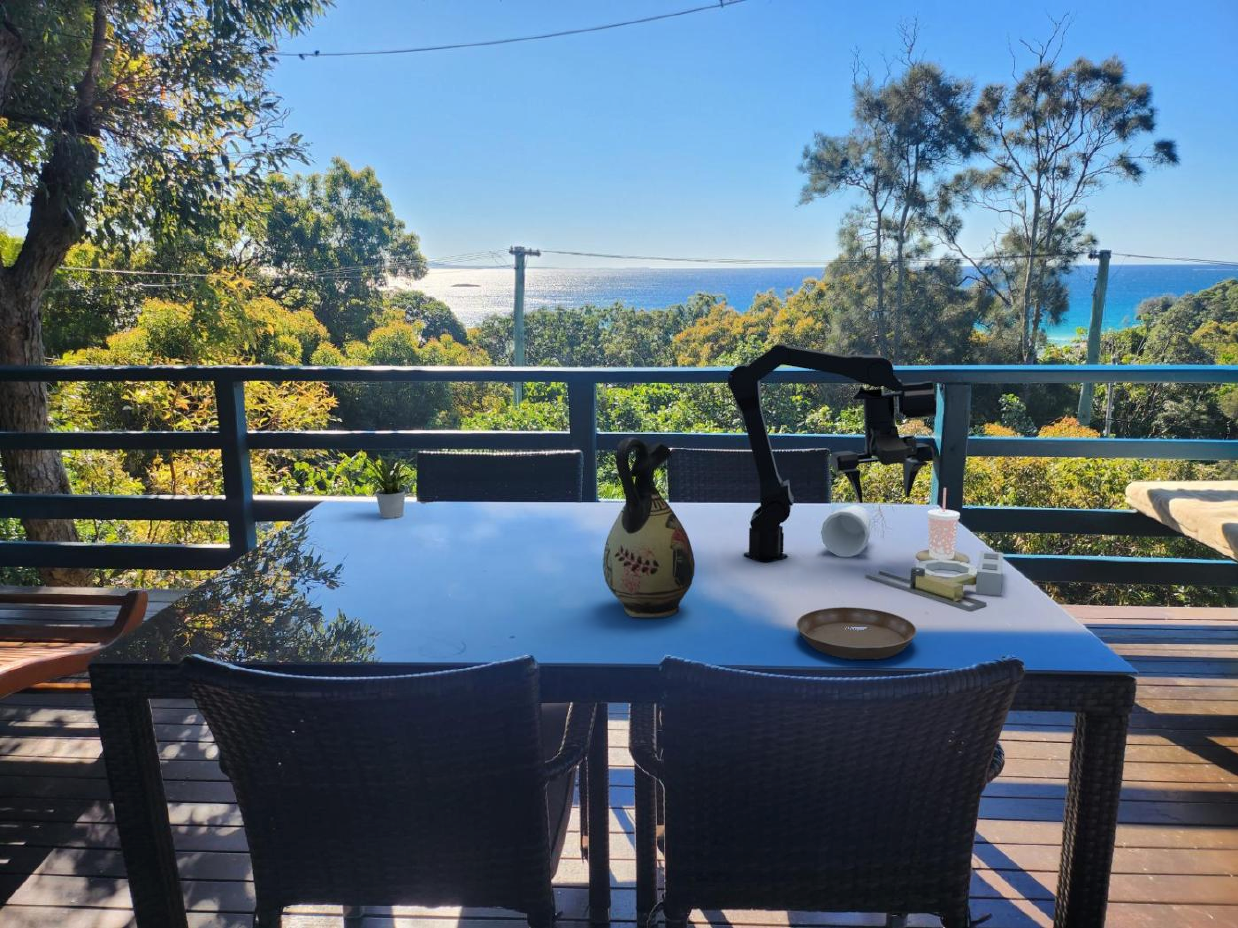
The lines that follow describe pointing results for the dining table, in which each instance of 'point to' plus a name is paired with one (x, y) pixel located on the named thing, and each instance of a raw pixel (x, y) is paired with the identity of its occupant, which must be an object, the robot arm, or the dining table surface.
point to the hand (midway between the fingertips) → (883, 500)
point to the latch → (940, 584)
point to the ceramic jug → (646, 539)
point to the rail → (976, 602)
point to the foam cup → (846, 531)
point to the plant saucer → (856, 632)
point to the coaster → (925, 556)
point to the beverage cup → (942, 532)
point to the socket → (972, 571)
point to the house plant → (389, 489)
